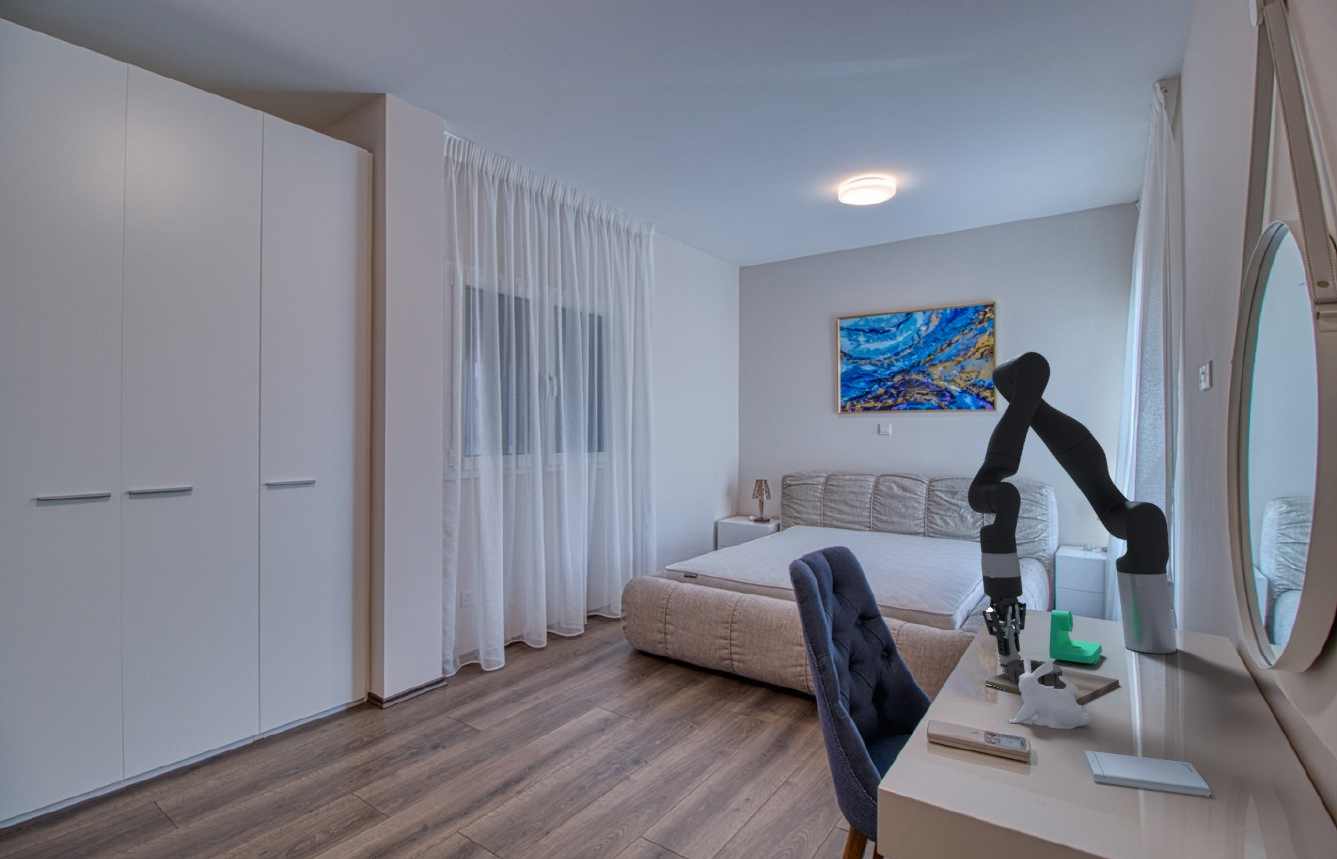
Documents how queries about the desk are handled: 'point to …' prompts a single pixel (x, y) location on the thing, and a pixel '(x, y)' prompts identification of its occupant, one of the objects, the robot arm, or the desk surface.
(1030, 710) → the rabbit figurine
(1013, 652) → the rook chess piece
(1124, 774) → the hard drive
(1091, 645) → the camera mount
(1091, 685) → the socket board
